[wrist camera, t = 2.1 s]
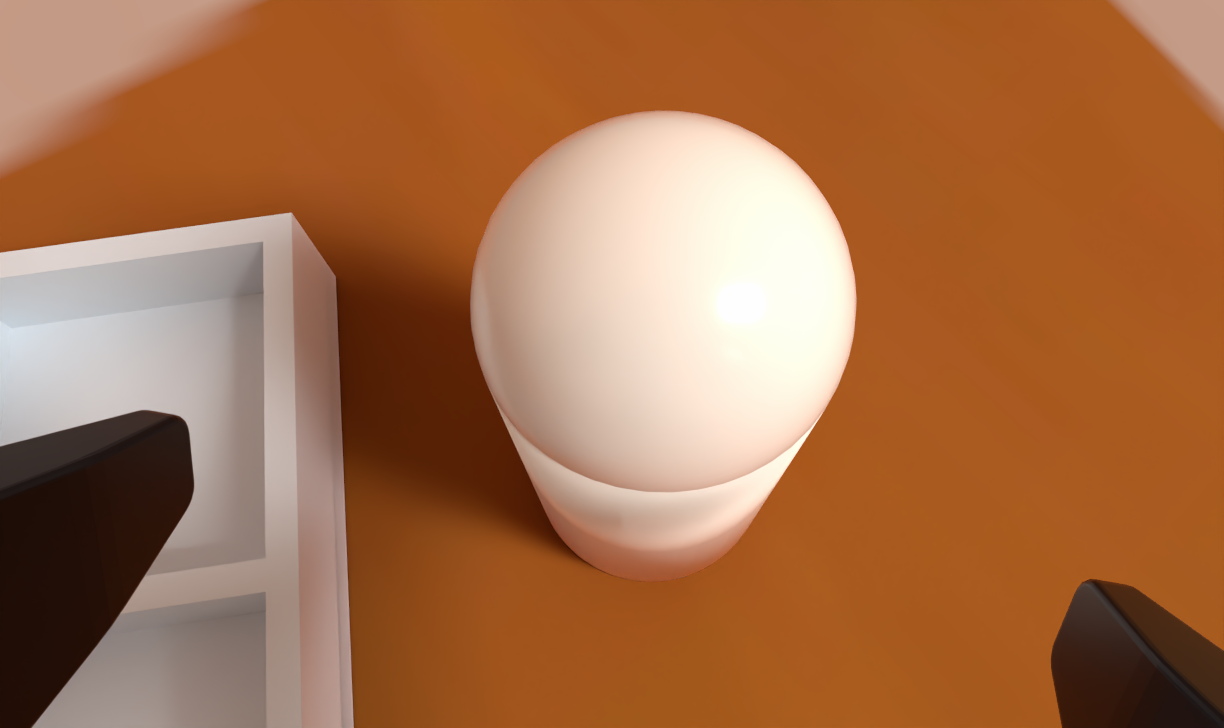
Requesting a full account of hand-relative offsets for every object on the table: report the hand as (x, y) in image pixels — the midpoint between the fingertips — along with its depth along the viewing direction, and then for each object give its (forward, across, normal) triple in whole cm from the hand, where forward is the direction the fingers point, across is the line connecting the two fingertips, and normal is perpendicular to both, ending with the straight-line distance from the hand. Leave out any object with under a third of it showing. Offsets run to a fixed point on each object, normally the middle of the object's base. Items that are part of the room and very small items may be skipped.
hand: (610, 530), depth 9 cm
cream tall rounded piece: (+10, 0, +5) cm, 11 cm away
